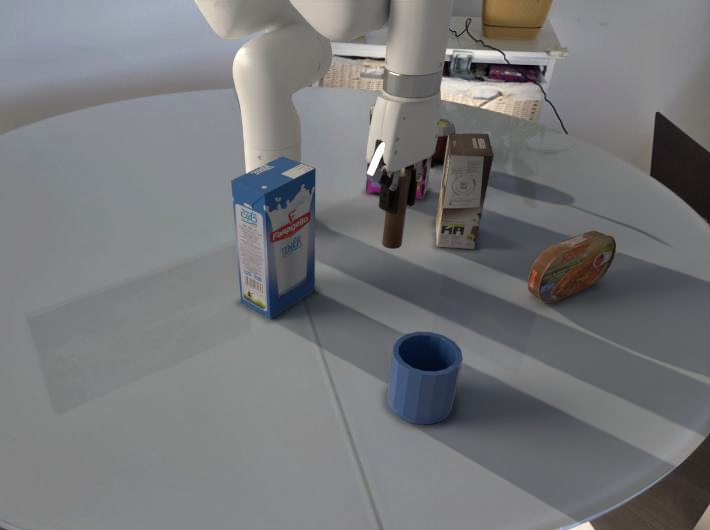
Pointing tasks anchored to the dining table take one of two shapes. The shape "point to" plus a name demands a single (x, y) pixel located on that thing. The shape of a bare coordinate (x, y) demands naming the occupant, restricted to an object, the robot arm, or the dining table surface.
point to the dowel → (397, 214)
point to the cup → (423, 377)
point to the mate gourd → (442, 140)
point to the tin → (571, 266)
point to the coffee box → (463, 189)
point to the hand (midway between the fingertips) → (396, 205)
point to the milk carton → (275, 234)
